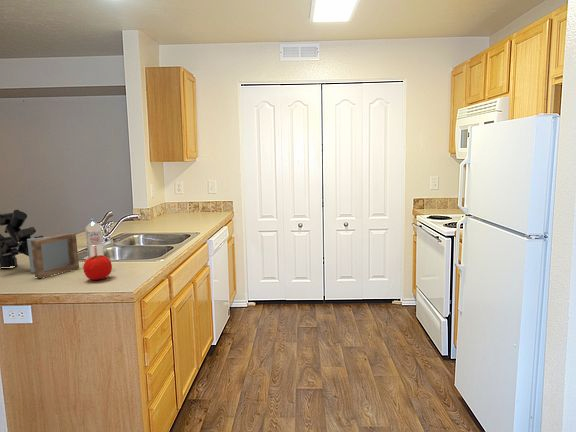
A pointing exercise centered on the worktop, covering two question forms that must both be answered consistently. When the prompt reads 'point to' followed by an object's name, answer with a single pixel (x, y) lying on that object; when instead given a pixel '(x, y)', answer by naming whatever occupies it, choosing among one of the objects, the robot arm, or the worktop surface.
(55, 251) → the door
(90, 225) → the water bottle
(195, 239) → the worktop surface
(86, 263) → the tomato
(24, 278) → the worktop surface
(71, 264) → the cabinet frame
